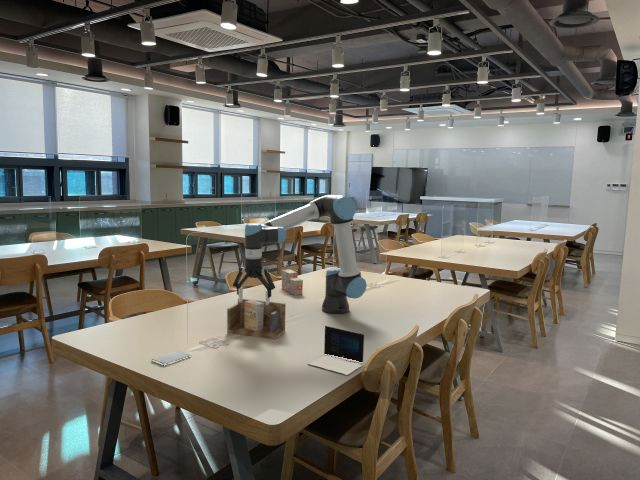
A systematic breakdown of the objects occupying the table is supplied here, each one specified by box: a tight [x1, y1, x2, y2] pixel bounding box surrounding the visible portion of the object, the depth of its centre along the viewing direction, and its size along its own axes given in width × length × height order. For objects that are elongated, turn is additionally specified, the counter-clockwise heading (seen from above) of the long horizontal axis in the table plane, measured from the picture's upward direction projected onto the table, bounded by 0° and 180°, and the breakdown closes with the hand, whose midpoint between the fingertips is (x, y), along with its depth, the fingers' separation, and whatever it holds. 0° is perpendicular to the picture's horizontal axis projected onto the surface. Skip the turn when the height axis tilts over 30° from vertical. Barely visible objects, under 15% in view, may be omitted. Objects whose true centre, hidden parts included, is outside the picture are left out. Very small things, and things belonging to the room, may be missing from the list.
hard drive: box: [151, 350, 192, 364], centre depth 186 cm, size 2×8×12 cm
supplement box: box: [244, 299, 264, 332], centre depth 220 cm, size 8×5×13 cm, turn 52°
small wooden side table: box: [226, 298, 286, 340], centre depth 221 cm, size 24×12×14 cm, turn 73°
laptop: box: [323, 325, 365, 363], centre depth 184 cm, size 18×12×13 cm
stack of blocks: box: [281, 268, 304, 296], centre depth 303 cm, size 21×6×12 cm, turn 25°
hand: (254, 302), depth 219 cm, fingers open, 13 cm apart
